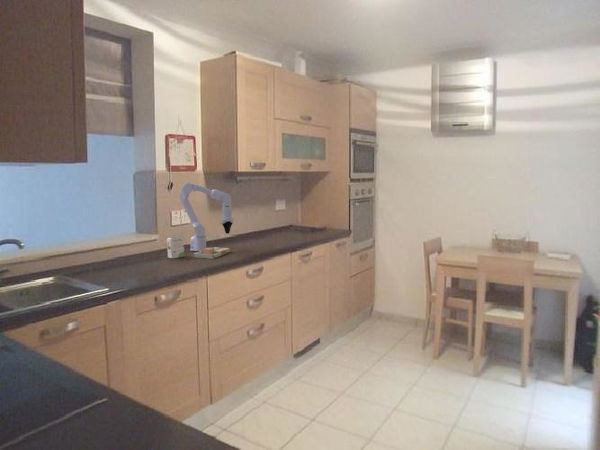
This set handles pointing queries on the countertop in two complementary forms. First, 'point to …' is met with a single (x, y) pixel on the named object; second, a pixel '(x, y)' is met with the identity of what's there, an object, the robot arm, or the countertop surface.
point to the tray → (206, 255)
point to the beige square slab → (220, 250)
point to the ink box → (175, 245)
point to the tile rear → (208, 250)
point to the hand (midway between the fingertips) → (227, 233)
